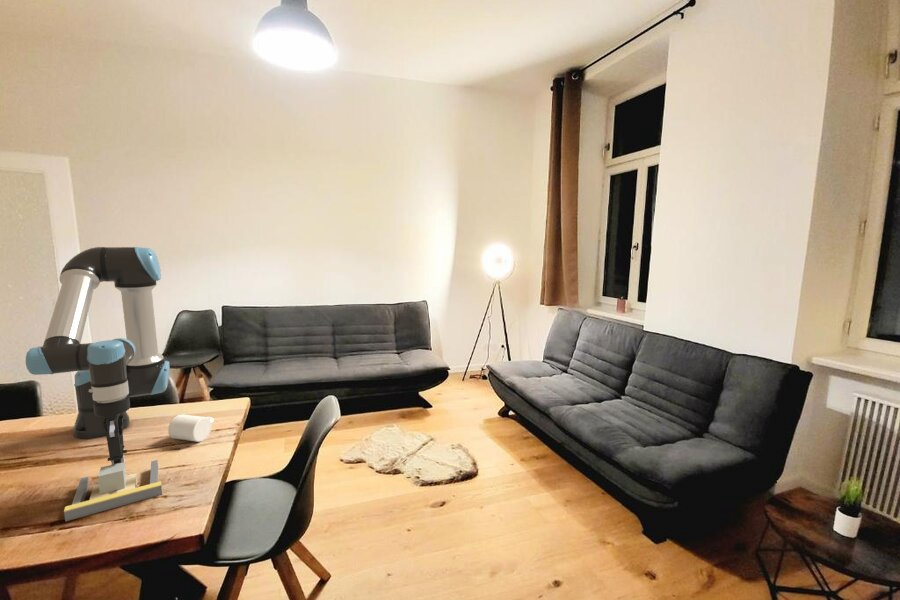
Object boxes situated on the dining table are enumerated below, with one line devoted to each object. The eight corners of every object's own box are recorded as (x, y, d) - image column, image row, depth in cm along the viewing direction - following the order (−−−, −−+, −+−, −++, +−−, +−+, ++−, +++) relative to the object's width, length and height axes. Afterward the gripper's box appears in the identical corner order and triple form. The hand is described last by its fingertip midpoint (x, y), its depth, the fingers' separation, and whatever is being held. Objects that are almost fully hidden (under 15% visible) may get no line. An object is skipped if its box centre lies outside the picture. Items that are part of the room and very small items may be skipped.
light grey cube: (102, 484, 107) (100, 467, 107) (126, 478, 110) (124, 461, 109) (99, 494, 103) (98, 476, 102) (124, 488, 106) (123, 470, 105)
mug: (194, 446, 133) (192, 423, 132) (168, 442, 135) (166, 420, 133) (221, 429, 144) (220, 408, 143) (197, 426, 146) (196, 406, 145)
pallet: (95, 493, 108) (94, 482, 108) (137, 482, 114) (136, 472, 113) (90, 511, 101) (89, 500, 101) (135, 499, 106) (134, 488, 106)
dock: (76, 488, 109) (75, 478, 109) (162, 466, 120) (161, 458, 120) (65, 521, 97) (63, 511, 96) (162, 494, 107) (161, 484, 107)
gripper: (96, 393, 111) (105, 471, 115) (89, 409, 101) (99, 495, 104) (130, 388, 116) (138, 463, 119) (127, 403, 105) (135, 485, 109)
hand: (119, 478), depth 112 cm, fingers closed
